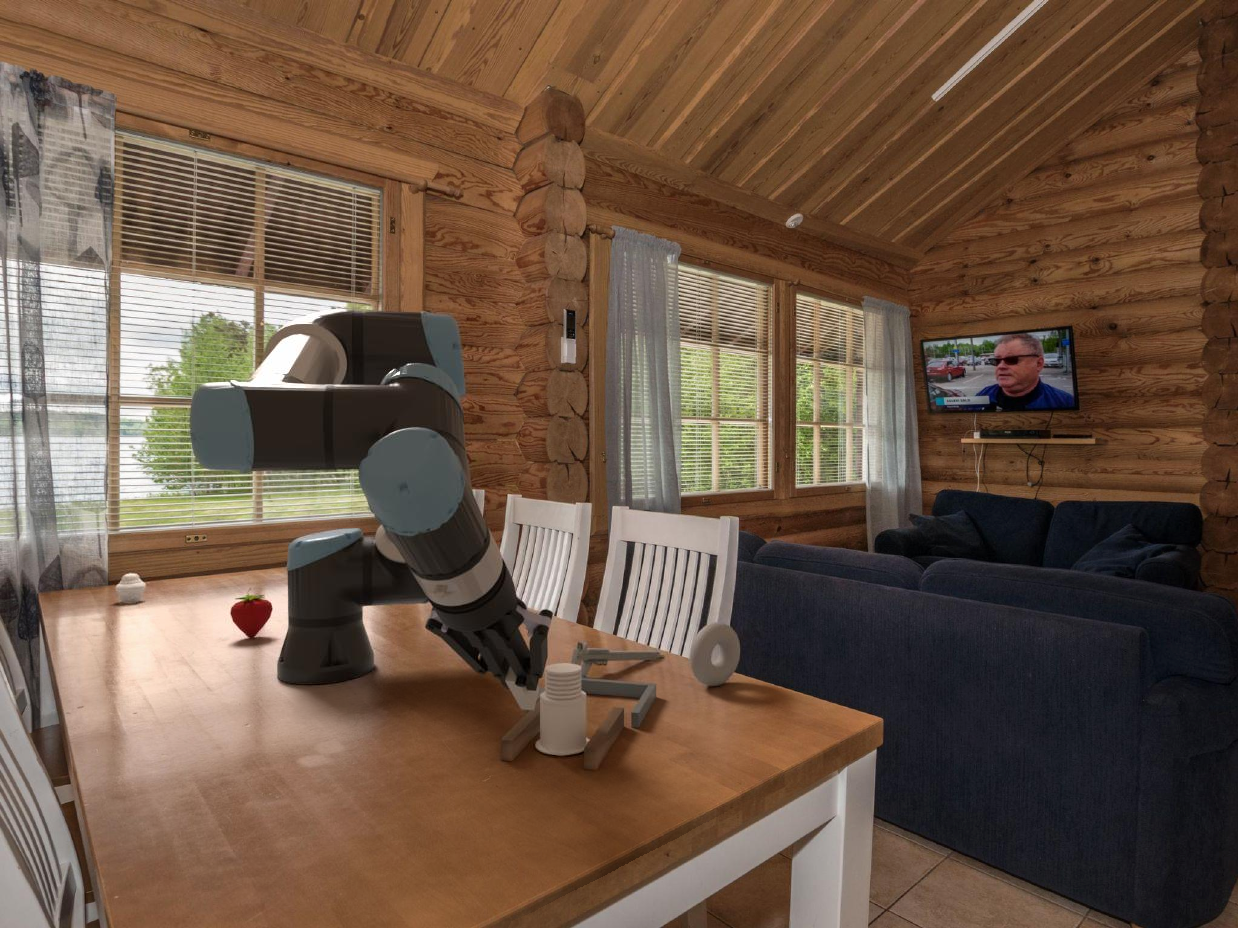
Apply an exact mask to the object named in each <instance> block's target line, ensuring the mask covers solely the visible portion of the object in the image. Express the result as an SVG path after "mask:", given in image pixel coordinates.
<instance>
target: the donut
mask: <svg viewBox="0 0 1238 928" xmlns="http://www.w3.org/2000/svg"><path fill="white" fill-rule="evenodd" d="M740 643H741V642H740V640H739V637H738V634H737V633H736V631H735V630H734V629H733V627H732V626H730V625H729V624H726V623H724V622H721V621H719V622H718V621H717V622H715V621H714V622H711V623H709V624H706V625H704V626H703V627H702V628H701V629H700V630H699V631H698V632H697V634H696V635H695V637H694V639H693V641H692V644H691V647H690V651H689V652H690V653H689V663H690V664H689V665H690V669H691V671H692V673H693V676H694V677H695V679H697V680H698V682H699V683H700V684H703V685H705V686H707V687H715V686H721V685H722V684H724V683H726V682H727V681H728V680H729V679H730V678H731V677H732V676H733V675H734V673H735V671H736V670H737V668H738V665H739V662H740V655H741V645H740ZM716 646H719V648H718V649H719V651H718V655H717V658H716V660H715V661H714V662H712V657H713V652H714V649H715V647H716Z"/></svg>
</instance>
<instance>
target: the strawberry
mask: <svg viewBox="0 0 1238 928" xmlns="http://www.w3.org/2000/svg"><path fill="white" fill-rule="evenodd" d="M251 589H252V588H251V587H250V588H249V589H248V591H247V592H246V593H247V594H246V595H245V596H242V597H236V598H234V600H241V601H237V602H235V603H234V604H233V605H232V606H231V608H230V616H231V617H230V618H231V619H232V623H233V624H234V625H235V626H236V627H237V628H238V629H239V630H240V631H241V632H243V634H244V635H245V636H246V637H247V638H249V639H253V638H255V637H256V636H257V635H258V634H259V632H260V631H261V630H262V629H263V628H264V627H265V626H266V623H267V622H268V621H269V619H270V618H271V616H272V612H273V605H272V602H271V601H269V600H267V599H265V598H266V597H265V594H259V595H256V594H251V595H250V594H249V593H250V591H251Z"/></svg>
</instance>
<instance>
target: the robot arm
mask: <svg viewBox="0 0 1238 928" xmlns="http://www.w3.org/2000/svg"><path fill="white" fill-rule="evenodd" d="M459 327H460V326H459V324H458V322H457V320H456V318H454V317H453V316H452V315H449V314H443V313H435V312H434V313H433V312H428V311H426V310H422V311H420V312H415V311H393V310H379V309H378V310H373V309H353V308H338V309H336V308H335V309H329V310H323V311H318V312H314V313H311V314H307V315H306V316H305V315H304V316H303V317H302V316H301V317H300V318H296V319H294V320H291V321H290V322H288V323H286V324H285V325H283V326H282V327H280V328H279V329H277V330H276V331H275V332H274V333H273V334H272V336H271V337H270V338H269V339H268V341H267V343H266V346H265V348H264V352H263V361H262V362H261V363H260V365H258V367H257V368H256V370H254V372H253V373H252V374H251V375H250V377H249V378H248V379H247V380H246V381H245V382H242V381H241V382H240V381H237V380H231V379H230V380H228V381H225V382H223V381H222V382H206V383H205V382H204V383H202V384H200V385H199V386H198V387H197V388H196V389H195V391H194V392H193V395H192V399H191V403H190V410H189V411H190V412H189V433H190V443H191V448H192V453H193V455H194V457H195V460H196V462H197V463H198V464H199V465H200V466H201V467H203V468H204V469H207V470H209V471H210V470H211V471H232V472H234V471H235V472H236V471H237V472H239V473H242V474H244V473H250V472H272V471H273V472H281V471H284V472H286V471H288V472H289V471H323V470H324V471H325V470H326V471H328V470H336V471H337V470H340V471H341V470H347V471H349V470H358V474H357V475H358V477H357V478H358V482H359V487H360V488H361V490H362V493H363V495H364V497H365V500H366V501H367V504H368V507H369V510H370V512H371V513H372V514H373V515H374V518H375V519H376V521H377V522H378V523H379V524H380V525H379V526H378V528H377V529H376V532H375V536H364V533H363V532H362V529H361V528H359V527H357V528H356V527H353V528H340V529H332V530H331V529H330V530H325V531H321V532H315V533H310V534H308V535H303V536H300V537H298V538H296V539H294V540H293V541H292V542H290V544H289V545H288V547H287V548H288V549H287V563H286V564H287V565H286V567H285V570H286V571H287V622H288V625H287V632H286V635H285V638H284V640H283V644H282V647H281V650H280V653H279V657H278V659H277V664H276V673H277V674H276V676H277V678H278V680H280V681H282V682H285V683H290V684H297V685H320V684H323V685H324V684H333V683H337V682H342V681H343V682H344V681H347V680H351V679H355V678H358V677H361V676H363V675H366V674H368V673H369V672H371V671H372V670H374V667H375V653H374V650H373V648H372V644H371V641H370V638H369V635H368V632H367V630H366V627H365V624H364V617H363V615H364V611H363V608H364V607H371V606H372V607H373V606H374V607H375V606H394V605H413V604H414V605H415V604H416V605H417V604H421V605H423V604H428V603H430V605H431V606H432V608H431V611H430V613H429V615H428V618H427V621H426V623H425V626H424V628H425V629H426V630H427V631H429V632H431V633H432V634H434V635H436V636H437V637H438V638H440V639H441V640H443V642H444V643H446V644H447V645H448V646H449V648H451V649H452V650H453V651H454V652H455V653H456V654H457V655H458V656H459V657H460V658H461V659H462V660H463V661H464V662H465V663H466V664H467V665H468V666H469V667H471V669H472V670H474V671H475V673H477V674H478V675H482V676H483V675H487V674H488V673H491V674H492V676H493V677H494V678H496V679H498V680H499V681H500V683H501V685H502V686H503V688H505V689H506V690H509V691H510V692H511V693H512V695H513V698H514V699H515V701H516V702H517V704H518V706H519V708H520V709H521V710H522V711H523V710H524V711H525V710H534V708H535V704H536V700H537V697H538V693H539V691H540V690H541V687H540V686H539V680H540V679H543V675H544V674H545V667H546V664H547V659H548V655H549V649H548V645H549V644H548V634H549V630H550V628H551V624H552V619H553V615H554V612H553V611H552V610H550V609H547V608H546V609H545V608H544V609H542V610H540V612H539V613H537V612H533V611H531V610H528V608H527V605H526V603H525V602H524V601H523V600H522V599H520V598H519V597H518V596H517V590H516V586H515V583H514V582H515V581H514V579H513V577H512V575H511V573H510V571H509V568H508V567H507V564H506V562H505V560H504V558H503V556H502V553H501V550H500V547H499V546H498V545H497V542H496V541H495V538H494V536H493V534H492V532H491V530H490V528H489V526H488V525H487V522H486V520H485V518H484V516H483V514H482V511H481V509H480V506H479V505H478V502H477V499H476V498H475V497H476V496H475V495H474V492H473V491H474V490H473V487H472V481H471V472H470V464H469V459H468V455H467V446H466V445H467V444H466V435H465V425H464V424H465V418H464V417H465V416H464V415H465V414H464V409H463V407H462V404H461V399H462V398H464V397H465V396H466V395H467V394H466V393H467V392H466V388H467V387H466V377H465V366H464V357H463V349H462V340H461V334H460V328H459ZM460 398H461V399H460ZM522 624H524V625H525V629H526V630H527V634H526V636H527V637H529V638H530V639H529V645H528V644H527V642H526V641H525V638H524V636H523V634H522V633H521V630H520V629H519V628H520V626H521V625H522ZM528 646H529V647H528ZM487 672H488V673H487Z"/></svg>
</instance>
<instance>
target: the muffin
mask: <svg viewBox="0 0 1238 928" xmlns="http://www.w3.org/2000/svg"><path fill="white" fill-rule="evenodd" d="M114 589H115V591H116V595H117V596H118V597H119V599H120V601H121V603H123V604H134V603H139V602H140V601H141V598H142V597H143V594H144V593H145V591H146V589H147V584H146V583H145V582H144V581H143V580H142V579H141V578H140V576H139V574H137V573H132V572H129V573H126V574H124V575H123V576H122V577H121V580H120V581H119V583H118V584H116V586H115V588H114Z"/></svg>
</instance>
